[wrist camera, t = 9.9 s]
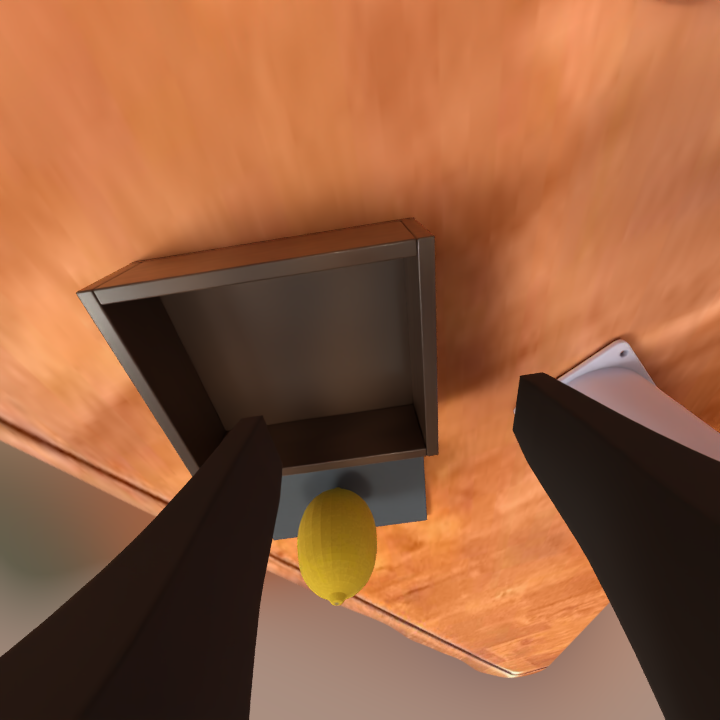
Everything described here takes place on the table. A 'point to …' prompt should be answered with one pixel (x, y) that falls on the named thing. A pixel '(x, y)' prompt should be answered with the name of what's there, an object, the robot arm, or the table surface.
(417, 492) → the placemat
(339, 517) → the lemon
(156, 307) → the dark brown shallow box
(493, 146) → the table surface
